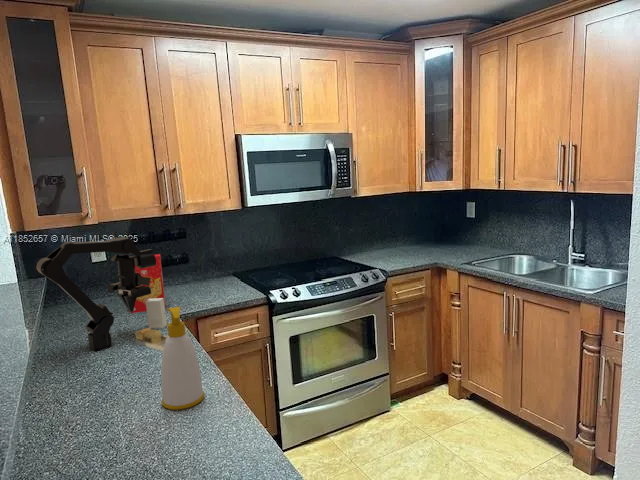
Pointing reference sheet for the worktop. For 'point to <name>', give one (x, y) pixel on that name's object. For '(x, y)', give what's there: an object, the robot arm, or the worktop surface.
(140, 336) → the chip
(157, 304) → the skincare box
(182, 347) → the soap bottle
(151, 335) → the chip
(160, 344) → the slot board
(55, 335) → the worktop surface
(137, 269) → the food packaging
